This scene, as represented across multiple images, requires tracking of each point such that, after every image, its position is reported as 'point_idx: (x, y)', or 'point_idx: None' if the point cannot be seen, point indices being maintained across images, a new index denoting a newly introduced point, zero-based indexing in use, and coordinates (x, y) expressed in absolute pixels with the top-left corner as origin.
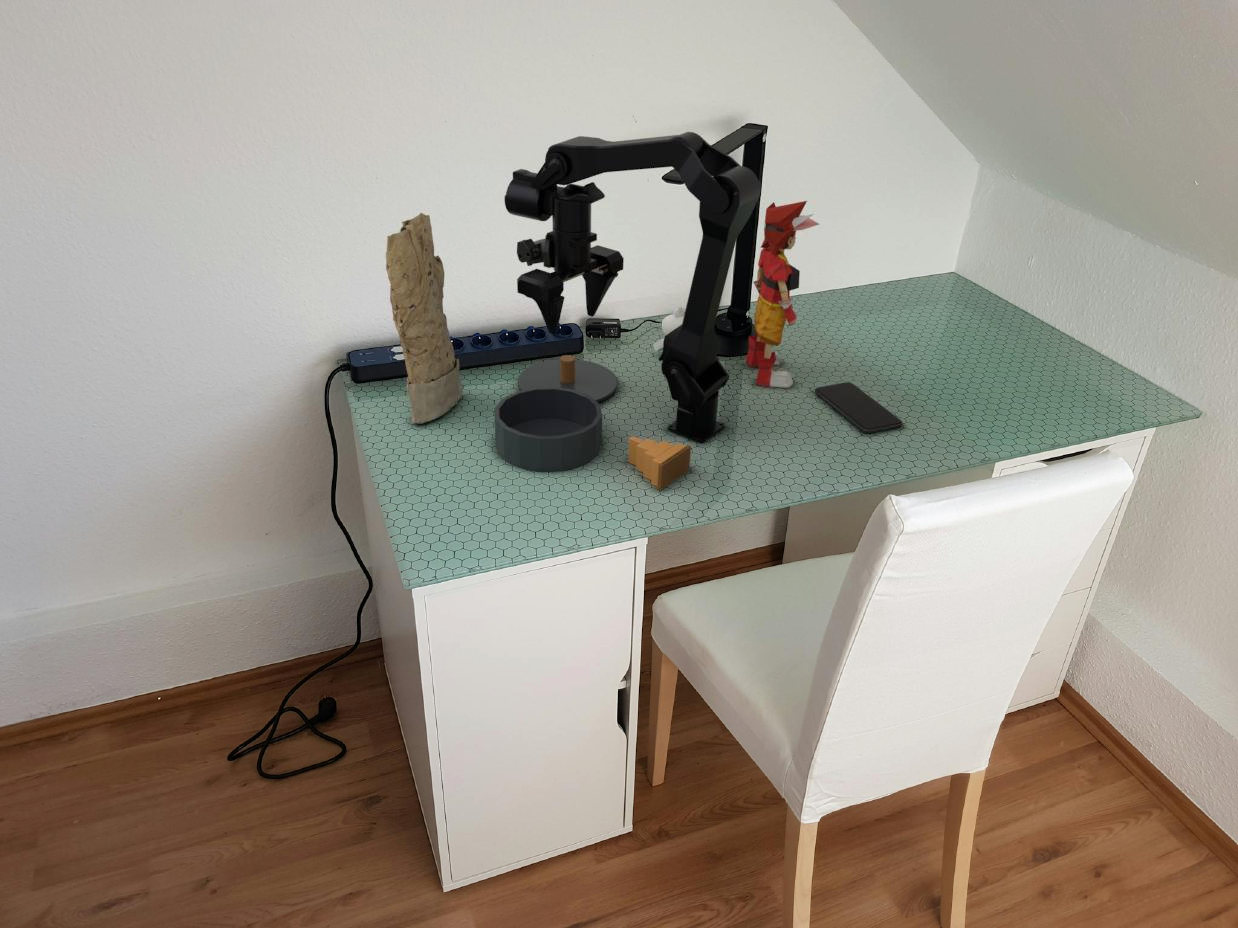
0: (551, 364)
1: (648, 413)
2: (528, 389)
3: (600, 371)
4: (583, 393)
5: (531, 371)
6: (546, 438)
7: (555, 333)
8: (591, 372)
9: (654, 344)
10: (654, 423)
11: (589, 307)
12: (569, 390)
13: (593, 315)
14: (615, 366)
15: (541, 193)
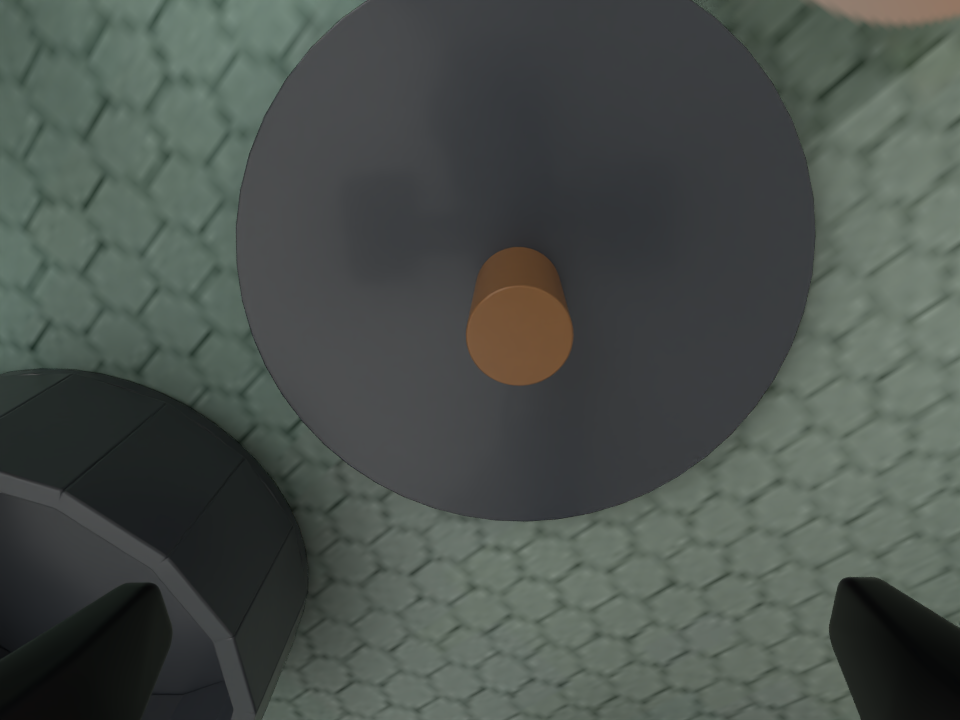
0: (621, 49)
1: (566, 654)
2: (15, 482)
3: (732, 344)
4: (245, 683)
5: (450, 26)
6: None
7: (165, 645)
8: (689, 316)
9: None
10: (518, 700)
11: (904, 701)
12: (206, 626)
13: (843, 658)
14: (895, 300)
15: None
